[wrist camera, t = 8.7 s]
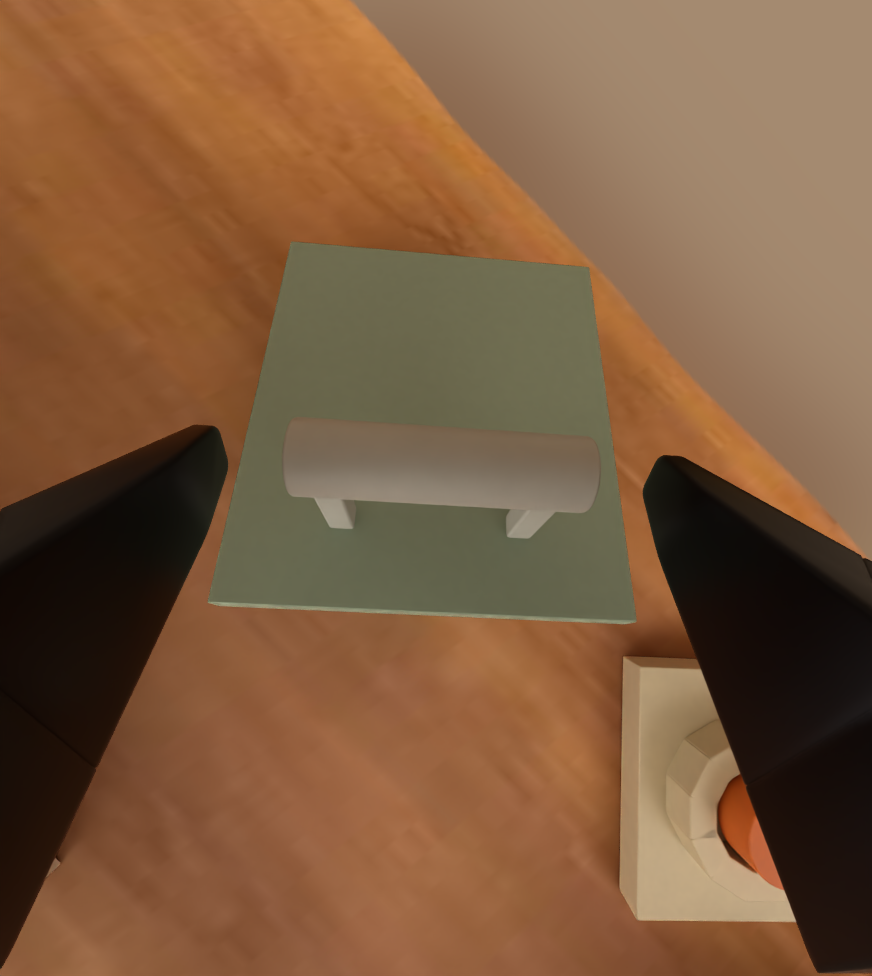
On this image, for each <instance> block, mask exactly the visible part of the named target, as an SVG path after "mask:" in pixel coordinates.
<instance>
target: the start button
mask: <svg viewBox="0 0 872 976" xmlns="http://www.w3.org/2000/svg"><path fill="white" fill-rule="evenodd" d="M746 786H747V785H745V784H744V782H743V779H742V777H741V774H739V775H738V776H736V777H734V778H733V779H732V780H731V781H730V782H729V783H728V785H727V787H726V789H725V791H724V793H723V794H722V796H721V798H720V801H719V806H718V819H719V824H720V828H721V831H722V833H723V835H724V837H725V839H726V840H727V842H728V843H729V844H730V846H731V847H732V848H733V849H734V850H735V851H736V852H737V853H738V854H739V855H740V856H741V857H742V858H743V859H744V860H745V861H746V862H747V863H748V864H749V865H750V866H751V867H752V868H753V869H754V870H755V871H756V872H757V873H758V874H759V875H760V876H761V877H762V878H763V879H764V880H765V881H767V882H768V883H769V884H771V885H772V886H774V887H776V888H779V889H781V890H784V888H783V886H782V883H781V880H780V878H779V875H778V872H777V870H776V867H775V864H774V862H773V859H772V857H771V854H770V851H769V849H768V846H767V843H766V841H765V838H764V835H763V833H762V830H761V828H760V825H759V822H758V820H757V817H756V814H755V812H754V809H753V807H752V804H751V801H750V799H749V796H748V793H747V791H746Z"/></svg>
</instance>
